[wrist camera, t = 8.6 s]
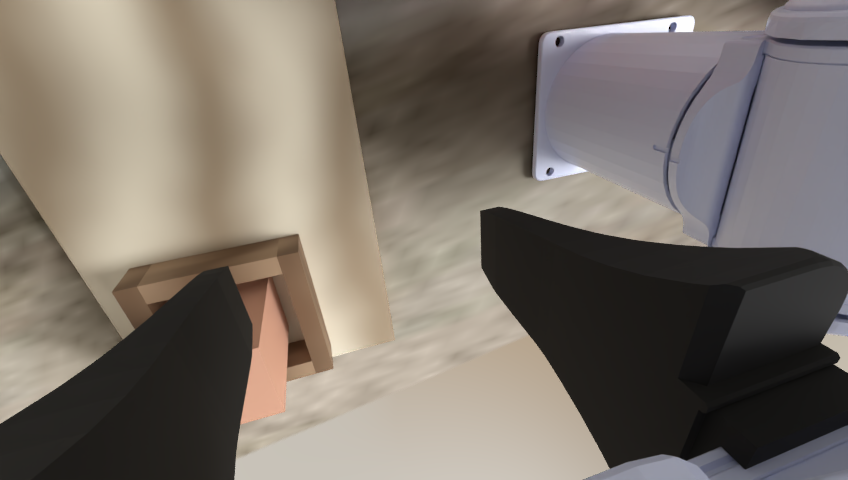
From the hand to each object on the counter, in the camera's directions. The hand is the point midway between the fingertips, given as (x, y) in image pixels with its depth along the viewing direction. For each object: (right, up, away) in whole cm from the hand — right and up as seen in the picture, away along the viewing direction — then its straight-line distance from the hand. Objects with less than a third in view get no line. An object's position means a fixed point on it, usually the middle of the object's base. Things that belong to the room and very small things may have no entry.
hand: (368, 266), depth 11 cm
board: (-8, +2, +9) cm, 12 cm away
